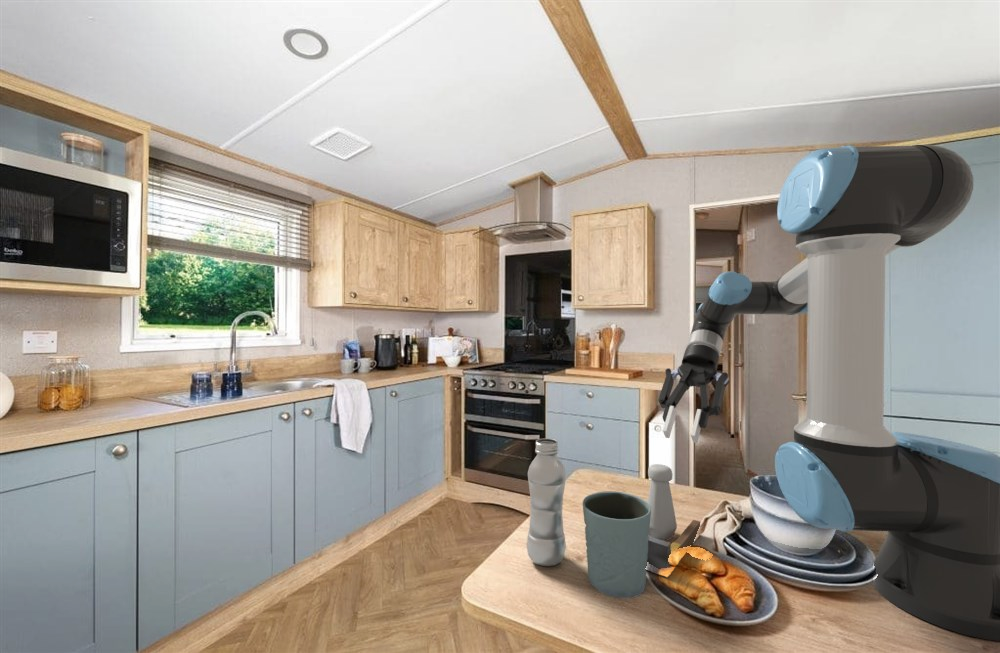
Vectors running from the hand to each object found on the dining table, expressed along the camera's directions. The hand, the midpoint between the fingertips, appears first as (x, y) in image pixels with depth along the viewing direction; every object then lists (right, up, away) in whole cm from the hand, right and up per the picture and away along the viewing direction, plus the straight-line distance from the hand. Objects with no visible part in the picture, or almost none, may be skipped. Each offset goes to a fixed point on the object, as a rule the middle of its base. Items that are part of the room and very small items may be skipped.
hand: (679, 436), depth 87 cm
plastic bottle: (-30, -17, -17) cm, 38 cm away
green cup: (-20, -17, -23) cm, 34 cm away
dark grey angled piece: (-10, -16, -11) cm, 22 cm away
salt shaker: (-7, -17, -8) cm, 20 cm away
